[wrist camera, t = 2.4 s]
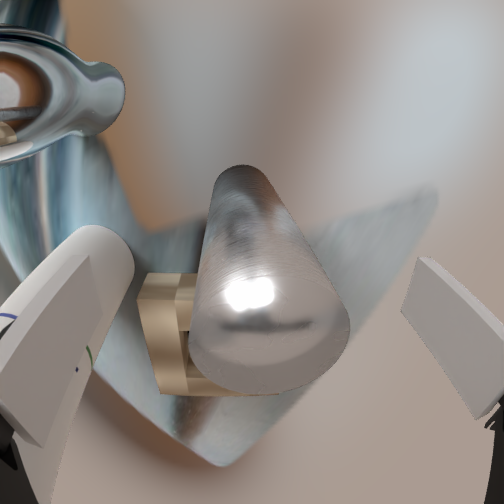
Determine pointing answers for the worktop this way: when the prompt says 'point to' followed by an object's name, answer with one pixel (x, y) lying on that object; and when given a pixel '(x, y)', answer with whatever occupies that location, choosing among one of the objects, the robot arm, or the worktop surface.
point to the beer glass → (50, 93)
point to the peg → (261, 294)
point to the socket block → (173, 335)
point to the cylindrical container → (110, 296)
